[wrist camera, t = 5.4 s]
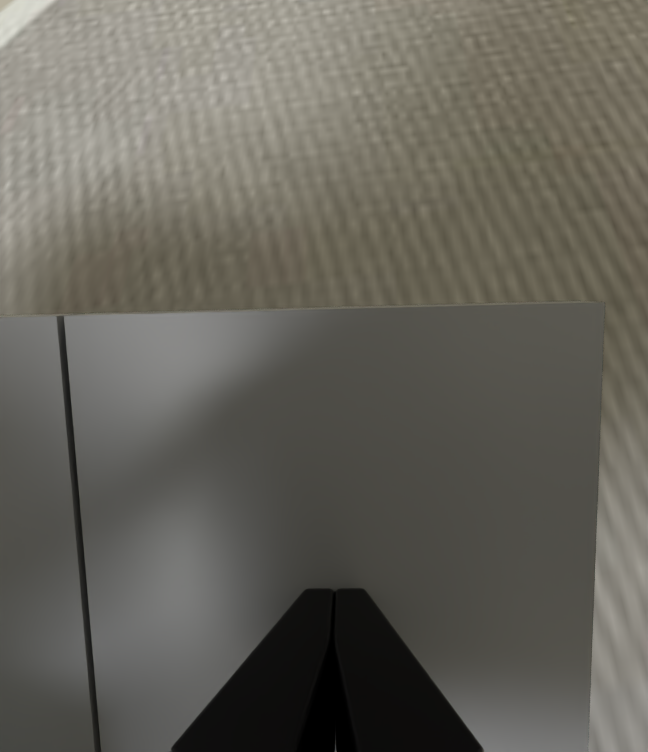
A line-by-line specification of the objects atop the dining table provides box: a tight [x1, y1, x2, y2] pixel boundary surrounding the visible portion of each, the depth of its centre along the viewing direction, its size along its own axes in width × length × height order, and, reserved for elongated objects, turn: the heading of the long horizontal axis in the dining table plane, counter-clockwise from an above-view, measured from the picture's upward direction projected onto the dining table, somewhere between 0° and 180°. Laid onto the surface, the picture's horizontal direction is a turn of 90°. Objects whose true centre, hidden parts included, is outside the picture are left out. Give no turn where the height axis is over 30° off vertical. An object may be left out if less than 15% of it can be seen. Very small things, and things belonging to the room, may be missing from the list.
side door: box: [0, 301, 605, 752], centre depth 9 cm, size 1×16×8 cm
